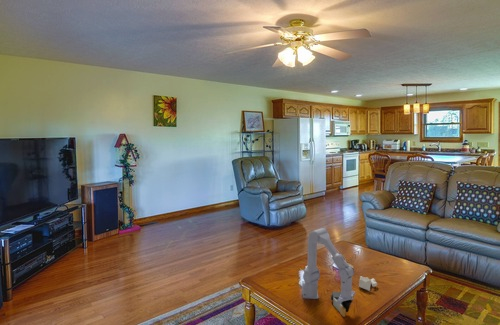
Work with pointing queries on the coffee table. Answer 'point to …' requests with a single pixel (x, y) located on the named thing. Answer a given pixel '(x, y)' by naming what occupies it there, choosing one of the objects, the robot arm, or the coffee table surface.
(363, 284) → the figurine
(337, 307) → the door
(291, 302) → the coffee table surface
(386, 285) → the coffee table surface
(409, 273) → the coffee table surface
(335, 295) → the case
